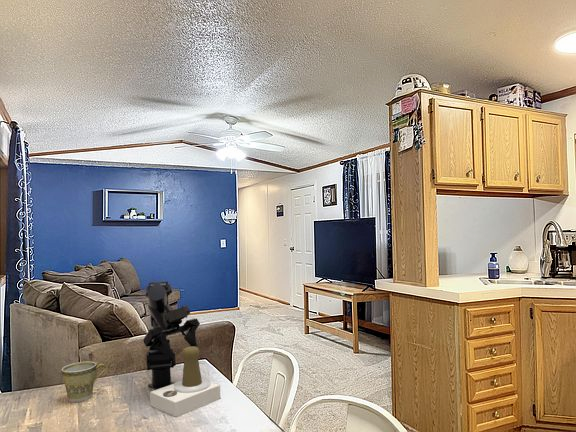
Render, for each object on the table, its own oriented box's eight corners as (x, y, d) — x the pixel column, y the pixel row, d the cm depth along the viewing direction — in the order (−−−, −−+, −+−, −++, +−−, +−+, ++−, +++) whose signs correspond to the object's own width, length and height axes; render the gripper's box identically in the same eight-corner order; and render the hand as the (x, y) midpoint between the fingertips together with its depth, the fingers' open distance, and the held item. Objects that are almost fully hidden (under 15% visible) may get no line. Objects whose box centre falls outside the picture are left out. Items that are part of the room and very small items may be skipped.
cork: (197, 387, 131) (196, 350, 131) (178, 386, 132) (177, 349, 132) (205, 380, 137) (203, 344, 137) (186, 379, 138) (185, 344, 138)
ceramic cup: (67, 407, 131) (66, 374, 132) (58, 398, 139) (57, 366, 139) (111, 395, 140) (110, 363, 140) (101, 387, 148) (100, 357, 148)
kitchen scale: (150, 405, 131) (150, 389, 131) (194, 388, 143) (194, 374, 143) (175, 417, 122) (175, 399, 122) (220, 398, 134) (219, 382, 134)
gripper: (147, 303, 134) (171, 344, 127) (195, 294, 149) (219, 331, 142) (133, 326, 139) (155, 367, 132) (181, 315, 153) (203, 351, 146)
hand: (185, 353), depth 138 cm, fingers open, 9 cm apart
